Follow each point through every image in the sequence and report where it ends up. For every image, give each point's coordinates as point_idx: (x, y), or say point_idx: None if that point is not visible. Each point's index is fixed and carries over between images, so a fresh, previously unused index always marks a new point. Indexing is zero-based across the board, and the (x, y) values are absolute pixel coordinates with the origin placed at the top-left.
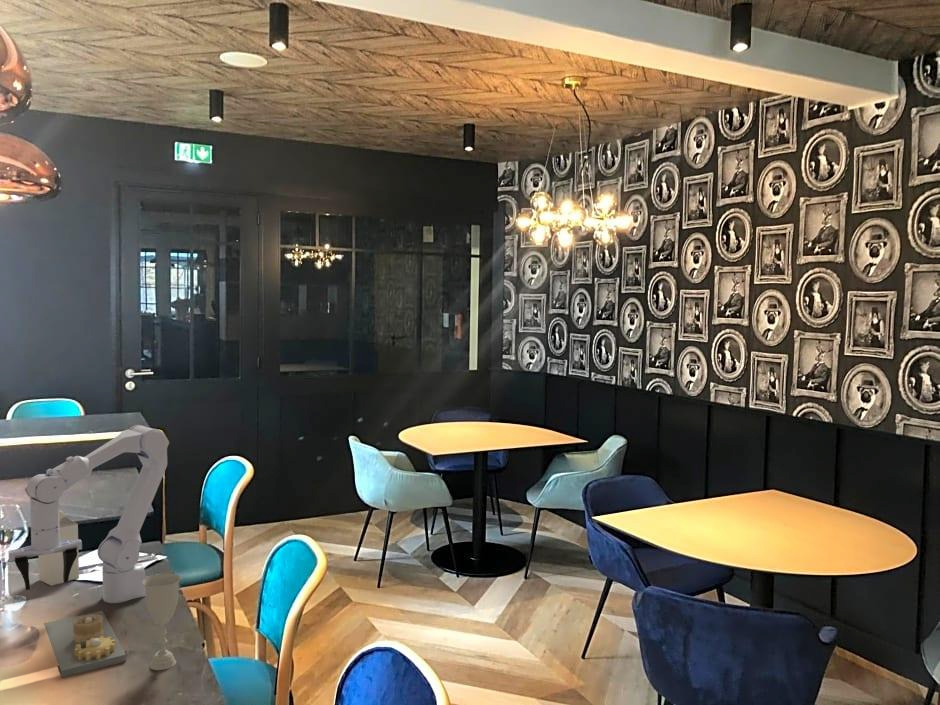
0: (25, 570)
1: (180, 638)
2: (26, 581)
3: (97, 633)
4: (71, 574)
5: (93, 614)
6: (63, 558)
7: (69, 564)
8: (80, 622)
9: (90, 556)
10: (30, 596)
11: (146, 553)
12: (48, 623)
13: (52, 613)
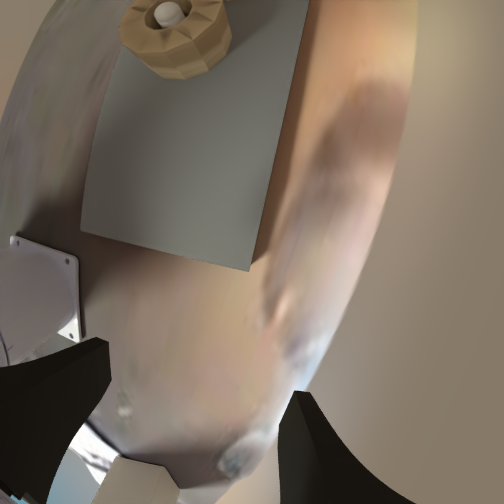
0: (354, 494)
1: (65, 6)
2: (325, 427)
3: None
4: (124, 467)
5: (104, 220)
6: (51, 468)
7: (9, 378)
8: (198, 5)
9: None
10: (210, 461)
11: None
12: (238, 257)
13: (193, 362)
